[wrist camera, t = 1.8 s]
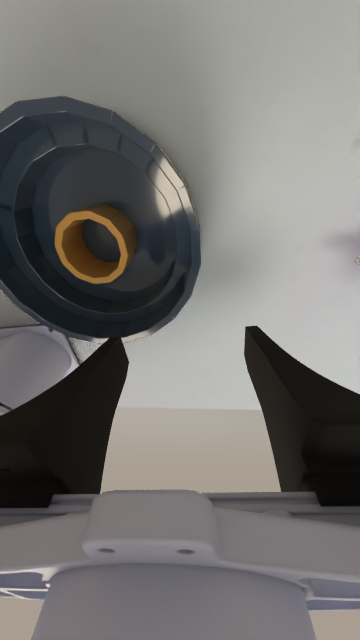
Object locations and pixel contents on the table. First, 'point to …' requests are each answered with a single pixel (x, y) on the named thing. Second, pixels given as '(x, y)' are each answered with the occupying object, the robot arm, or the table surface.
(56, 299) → the bowl
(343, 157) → the table surface
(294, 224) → the table surface
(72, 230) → the ring
